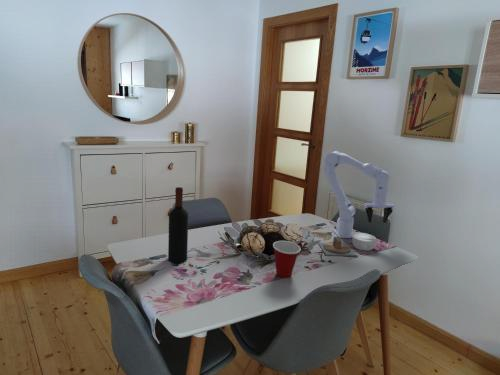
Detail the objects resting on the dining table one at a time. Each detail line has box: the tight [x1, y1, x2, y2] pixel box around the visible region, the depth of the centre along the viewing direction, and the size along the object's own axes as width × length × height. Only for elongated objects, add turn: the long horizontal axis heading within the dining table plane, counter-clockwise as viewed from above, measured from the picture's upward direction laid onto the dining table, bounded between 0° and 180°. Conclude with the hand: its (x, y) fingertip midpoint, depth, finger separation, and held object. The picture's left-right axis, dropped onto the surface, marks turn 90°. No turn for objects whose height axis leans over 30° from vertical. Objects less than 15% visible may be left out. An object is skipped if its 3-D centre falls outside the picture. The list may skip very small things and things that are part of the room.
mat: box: [317, 242, 357, 257], centre depth 175 cm, size 14×14×1 cm
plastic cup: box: [272, 240, 302, 279], centre depth 145 cm, size 11×11×12 cm
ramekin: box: [351, 232, 377, 252], centre depth 180 cm, size 11×11×5 cm
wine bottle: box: [167, 186, 189, 264], centre depth 150 cm, size 8×8×30 cm
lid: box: [323, 236, 351, 254], centre depth 175 cm, size 12×12×5 cm
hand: (376, 222), depth 185 cm, fingers open, 7 cm apart
